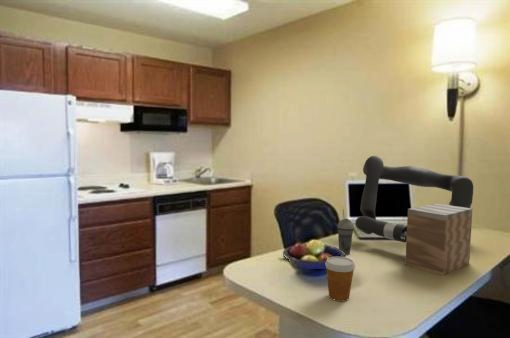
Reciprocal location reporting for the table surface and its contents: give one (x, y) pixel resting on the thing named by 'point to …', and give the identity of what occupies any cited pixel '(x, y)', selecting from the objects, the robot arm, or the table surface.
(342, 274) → the disposable coffee cup
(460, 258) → the under counter cubby
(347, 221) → the beverage cup
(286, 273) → the table surface
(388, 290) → the table surface
